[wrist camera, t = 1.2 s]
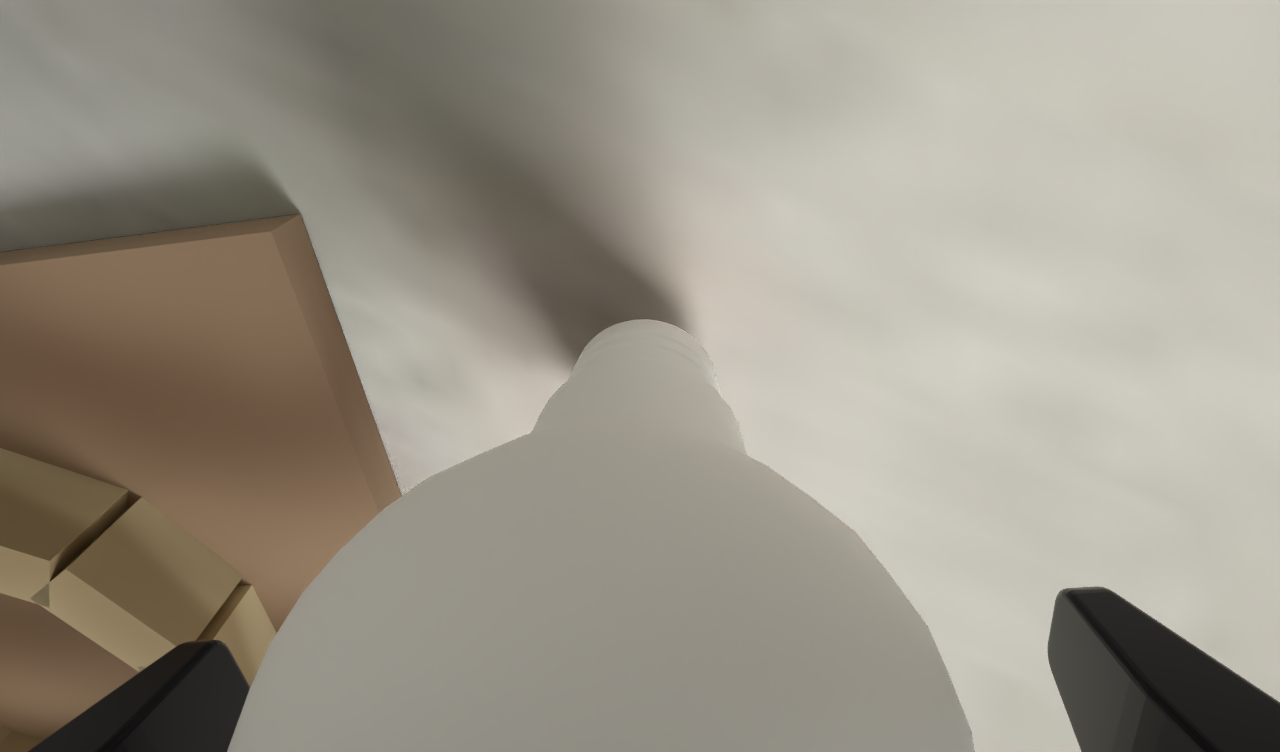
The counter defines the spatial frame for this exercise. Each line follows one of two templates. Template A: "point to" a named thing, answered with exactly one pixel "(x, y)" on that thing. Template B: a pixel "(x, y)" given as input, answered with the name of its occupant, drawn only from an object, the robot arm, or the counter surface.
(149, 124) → the counter surface
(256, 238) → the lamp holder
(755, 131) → the counter surface
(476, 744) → the lightbulb
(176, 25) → the counter surface
